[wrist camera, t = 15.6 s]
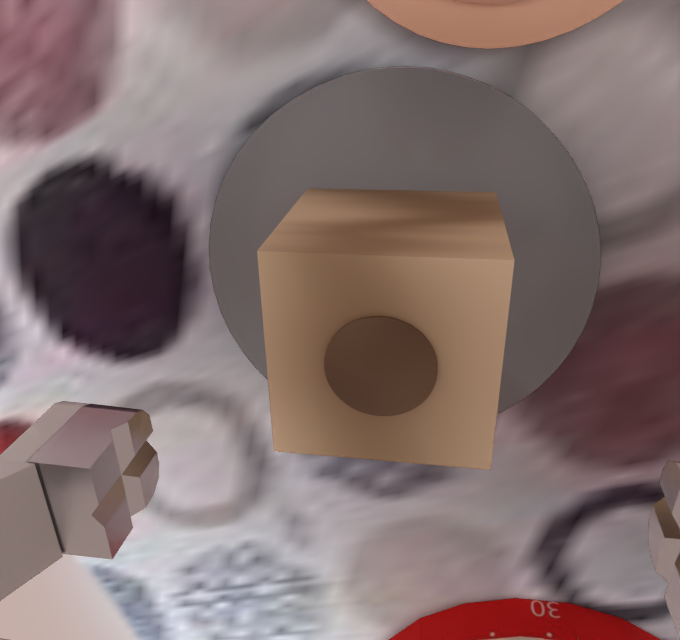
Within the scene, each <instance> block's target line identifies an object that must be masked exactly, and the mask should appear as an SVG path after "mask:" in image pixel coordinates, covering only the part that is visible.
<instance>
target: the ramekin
mask: <svg viewBox="0 0 680 640" xmlns="http://www.w3.org/2000/svg"><path fill="white" fill-rule="evenodd" d="M367 1H368V2H369V3H370V4H371V5H372V6H373V7H374V8H376V9H377V10H379V11H380V12H381V13H383V14H384V15H385V16H387V17H388V18H390V19H391V20H392V21H394V22H395V23H397V24H399V25H401V26H403V27H405V28H407V29H409V30H411V31H412V32H414V33H416V34H419V35H422V36H424V37H427V38H430V39H433V40H436V41H438V42H442V43H447V44H452V45H457V46H462V47H469V48H488V49H494V48H505V47H517V46H522V45H527V44H531V43H536V42H540V41H545V40H547V39H550V38H553V37H556V36H558V35H561V34H564V33H567V32H569V31H572V30H574V29H576V28H578V27H580V26H582V25H584V24H586V23H588V22H590V21H592V20H594V19H596V18H598V17H599V16H601V15H602V14H604V13H606V12H607V11H609V10H610V9H612V8H613V7H615V6H616V5H618V4H619V3H621V2H622V1H624V0H367Z"/></svg>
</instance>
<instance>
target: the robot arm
mask: <svg viewBox="0 0 680 640" xmlns="http://www.w3.org/2000/svg"><path fill="white" fill-rule="evenodd" d="M152 432H153V429H152V425H151V421H150V417H149V414H147V413H146V412H145V411H143V410H139V409H130V408H122V407H113V406H105V405H97V404H86V403H77V402H67V401H63V402H59V403H55V404H54V405H53V406H52V407H51V408H50V409H49V410H47V411H46V412H45V413H44V414H43V415H42V416H41V417H40V418H39V419H38V420H37V421H36V422H35V423H34V424H33V425H32V426H31V427H29V428H28V429H27V430H26V431H25V432H24V433H23V434H22V435H21V436H20V437H19V438H18V439H17V440H16V441H15V442H14V443H13V444H12V445H10V446H9V447H8V448H7V449H6V450H5V451H4V452H3V453H2V454H1V455H0V601H1V600H2V599H3V598H5V597H6V596H8V595H9V594H11V593H12V592H13V591H15V590H16V589H18V588H19V587H20V586H22V585H23V584H25V583H26V582H27V581H29V580H30V579H32V578H33V577H35V576H36V575H37V574H39V573H40V572H42V571H43V570H45V569H46V568H47V567H49V566H50V565H52V564H53V563H54V562H56V561H57V560H59V559H60V558H62V554H69V555H78V556H87V557H97V558H106V559H113V558H114V556H115V555H116V553H117V551H118V550H119V548H120V547H121V545H122V544H123V542H124V541H125V539H126V538H127V536H128V535H129V533H130V531H131V530H132V528H133V526H132V521H131V516H132V515H134V514H136V513H137V512H139V511H141V510H143V509H144V508H146V506H147V505H148V503H149V501H150V500H151V498H152V497H153V495H154V492H155V488H156V485H157V481H158V478H159V461H158V456H157V452H156V451H155V450H154V449H153V447H152V446H151V445H150V444H149V443H148V442H147V441H146V440H147V439H148V438H149V436H150V435H151V433H152ZM659 483H660V486H661V488H662V490H663V493H664V495H665V497H664V498H662V499H661V500H659V501H658V502H657V503H655V504H654V505H653V506H652V510H651V514H650V519H649V523H648V544H649V550H650V556H651V559H652V562H653V565H654V568H655V571H656V572H657V573H659V574H660V575H661V576H662V577H663V578H664V579H665V580H666V581H668V582H669V583H668V586H667V590H666V593H665V596H664V597H665V600H666V603H667V606H668V609H669V611H670V614H671V617H672V620H673V623H674V626H675V628H676V631H677V634H678V637H679V639H680V462H679V461H668V462H667V464H666V465H665V466H664V468H663V471H662V474H661V477H660V481H659ZM0 640H8V639H2V638H0Z"/></svg>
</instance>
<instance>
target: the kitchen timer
mask: <svg viewBox="0 0 680 640" xmlns="http://www.w3.org/2000/svg"><path fill="white" fill-rule="evenodd" d="M389 640H660V639H658V638H656V637H655V636H653V635H651V634H649V633H647V632H646V631H644V630H642V629H640V628H639V627H637V626H635V625H633V624H631V623H630V622H628V621H626V620H624V619H622V618H619V617H616V616H612V615H609V614H605V613H602V612H599V611H595V610H592V609H588V608H585V607H582V606H578V605H575V604H571V603H563V602H552V601H541V600H530V599H519V598H513V599H503V600H494V601H484V602H475V603H465V604H461V605H458V606H455V607H452V608H449V609H446V610H443V611H440V612H437V613H435V614H432V615H429V616H426V617H423V618H420V619H419V620H417V621H416V622H414V623H413V624H411V625H410V626H408V627H407V628H405V629H404V630H402V631H401V632H399V633H398V634H396V635H395V636H394V637H392V638H391V639H389Z"/></svg>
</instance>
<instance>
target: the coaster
mask: <svg viewBox="0 0 680 640" xmlns="http://www.w3.org/2000/svg"><path fill="white" fill-rule="evenodd" d="M307 188H313V189H362V190H411V191H461V192H496V194H497V198H498V202H499V205H500V209H501V213H502V216H503V220H504V224H505V227H506V231H507V235H508V238H509V242H510V246H511V249H512V253H513V257H514V260H515V261H514V269H513V278H512V287H511V296H510V304H509V313H508V322H507V331H506V339H505V348H504V357H503V366H502V374H501V383H500V392H499V401H498V409H497V414H499V413H501V412H503V411H504V410H506V409H508V408H509V407H511V406H513V405H515V404H516V403H518V402H520V401H521V400H523V399H524V398H525V397H527V396H528V395H529V394H530V393H532V392H533V391H534V390H536V389H537V388H538V387H540V386H541V385H542V384H543V383H544V382H545V381H546V380H547V379H548V378H549V377H550V376H551V375H552V374H553V373H554V372H555V371H556V370H557V368H558V367H559V366H560V365H561V363H562V362H563V361H564V360H565V358H566V357H567V356H568V354H569V353H570V352H571V350H572V349H573V347H574V345H575V343H576V342H577V340H578V338H579V337H580V335H581V333H582V332H583V329H584V327H585V325H586V322H587V320H588V317H589V315H590V312H591V310H592V307H593V303H594V299H595V295H596V291H597V288H598V282H599V273H600V263H601V251H600V233H599V228H598V222H597V217H596V212H595V208H594V205H593V202H592V199H591V196H590V194H589V191H588V188H587V185H586V183H585V181H584V179H583V177H582V175H581V173H580V172H579V170H578V168H577V166H576V164H575V162H574V160H573V159H572V157H571V156H570V155H569V153H568V152H567V151H566V149H565V148H564V147H563V145H562V144H561V143H560V141H559V140H558V139H557V137H556V136H555V135H554V134H553V133H552V132H551V131H550V130H549V129H548V128H547V127H546V126H545V125H544V124H543V123H542V122H541V121H540V120H539V119H538V118H537V117H536V116H535V115H534V114H533V113H532V112H530V111H529V110H528V109H526V108H525V107H524V106H522V105H521V104H519V103H518V102H517V101H515V100H514V99H513V98H511V97H510V96H508V95H506V94H504V93H502V92H501V91H499V90H497V89H495V88H493V87H491V86H489V85H487V84H485V83H483V82H480V81H477V80H475V79H472V78H469V77H466V76H463V75H461V74H458V73H453V72H448V71H443V70H438V69H433V68H425V67H409V66H396V67H383V68H372V69H368V70H363V71H359V72H354V73H350V74H346V75H343V76H340V77H338V78H335V79H332V80H330V81H327V82H325V83H322V84H320V85H318V86H316V87H314V88H312V89H310V90H309V91H307V92H305V93H303V94H301V95H299V96H298V97H296V98H294V99H292V100H291V101H289V102H288V103H287V104H285V105H284V106H283V107H281V108H280V109H279V110H277V111H276V112H275V113H273V114H272V115H271V116H270V117H269V118H268V119H267V120H266V121H265V122H264V123H263V124H262V125H261V126H260V127H259V128H258V129H257V130H256V131H255V132H254V133H253V134H252V135H251V136H250V137H249V139H248V140H247V141H246V143H245V144H244V145H243V147H242V148H241V149H240V151H239V152H238V153H237V155H236V156H235V158H234V160H233V162H232V164H231V166H230V167H229V169H228V171H227V173H226V175H225V177H224V179H223V182H222V185H221V187H220V190H219V193H218V195H217V198H216V201H215V206H214V210H213V215H212V219H211V225H210V238H209V258H210V271H211V276H212V282H213V287H214V292H215V295H216V298H217V301H218V304H219V307H220V310H221V313H222V315H223V317H224V319H225V322H226V324H227V326H228V328H229V330H230V332H231V334H232V335H233V337H234V339H235V340H236V342H237V343H238V345H239V347H240V348H241V350H242V351H243V353H244V354H245V355H246V356H247V358H248V359H249V360H250V361H251V363H252V364H253V365H254V366H255V368H256V369H257V370H258V371H259V372H260V373H261V374H262V375H263V376H264V377H265V378H266V379H267V380H268V375H267V363H266V351H265V340H264V328H263V316H262V304H261V292H260V280H259V268H258V257H257V250H258V249H259V248H260V247H261V246H262V244H263V243H264V242H265V241H266V239H267V238H268V237H269V236H270V234H271V233H272V232H273V231H274V229H275V228H276V227H277V226H278V224H279V223H280V222H281V221H282V219H283V218H284V217H285V216H286V215H287V213H288V212H289V211H290V210H291V208H292V207H293V206H294V205H295V203H296V202H297V201H298V200H299V198H300V197H301V196H302V195H303V193H304V192H305V191H306V190H307Z"/></svg>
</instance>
